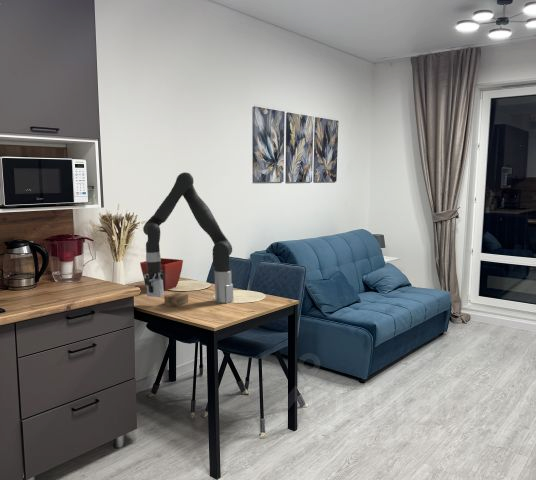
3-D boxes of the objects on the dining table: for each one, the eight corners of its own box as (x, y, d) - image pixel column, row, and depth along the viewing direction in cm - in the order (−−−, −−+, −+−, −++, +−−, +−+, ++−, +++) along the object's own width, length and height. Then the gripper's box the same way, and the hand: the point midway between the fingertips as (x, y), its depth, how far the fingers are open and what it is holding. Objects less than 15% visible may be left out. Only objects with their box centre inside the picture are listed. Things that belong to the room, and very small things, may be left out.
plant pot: (160, 283, 315) (159, 257, 313) (184, 286, 306) (183, 259, 304) (140, 289, 298) (139, 262, 296) (165, 292, 289) (164, 264, 287)
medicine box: (164, 295, 263) (163, 279, 262) (160, 297, 258) (159, 281, 257) (150, 294, 265) (149, 279, 264) (146, 296, 260) (145, 280, 259)
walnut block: (188, 303, 267) (188, 294, 266) (178, 307, 259) (177, 298, 258) (175, 301, 271) (174, 292, 270) (164, 305, 263) (164, 296, 262)
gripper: (148, 263, 251) (150, 295, 253) (168, 258, 263) (169, 289, 265) (138, 262, 255) (140, 293, 257) (157, 257, 267) (159, 288, 269)
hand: (155, 291), depth 261 cm, fingers closed on medicine box, 5 cm apart
